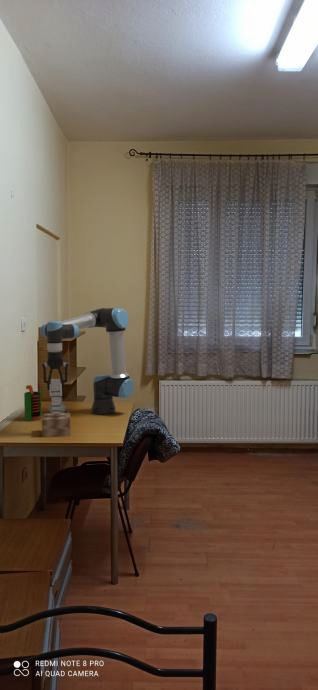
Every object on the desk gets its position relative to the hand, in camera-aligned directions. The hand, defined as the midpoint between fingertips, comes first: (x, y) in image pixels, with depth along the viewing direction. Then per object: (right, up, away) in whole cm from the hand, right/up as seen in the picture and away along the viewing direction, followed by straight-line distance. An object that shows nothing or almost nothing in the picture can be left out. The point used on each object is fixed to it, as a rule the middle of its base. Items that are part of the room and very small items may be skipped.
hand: (55, 395), depth 268 cm
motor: (-20, -17, +34) cm, 43 cm away
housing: (0, -20, +2) cm, 20 cm away
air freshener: (-9, -16, +50) cm, 53 cm away
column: (0, -12, +1) cm, 12 cm away
